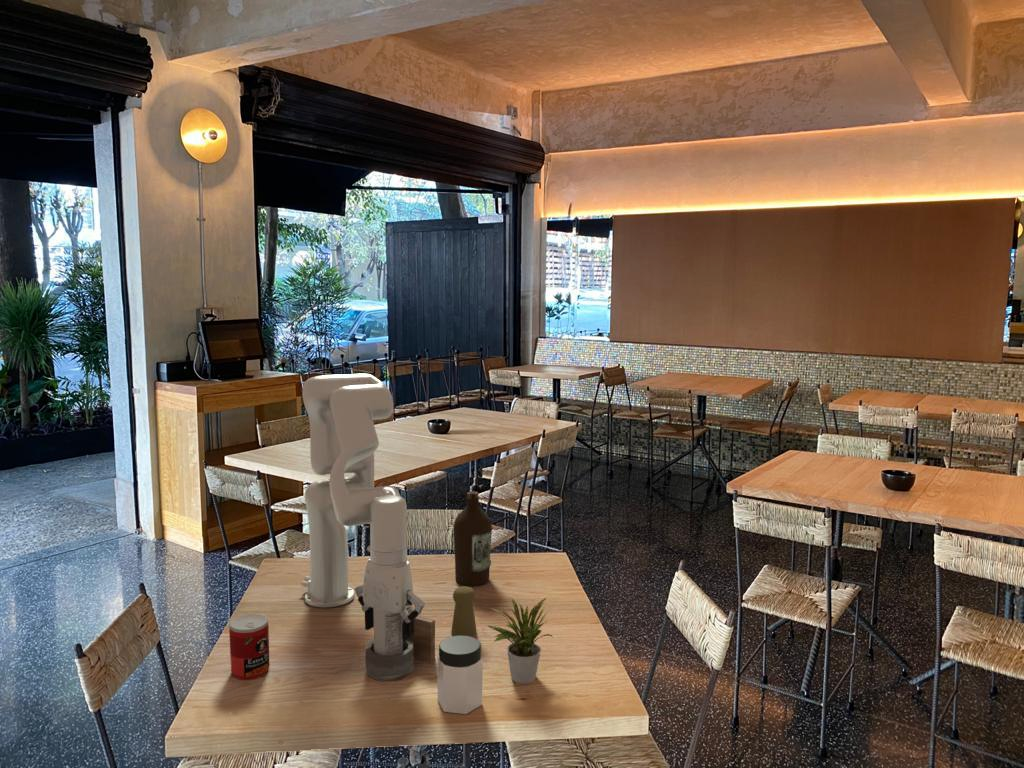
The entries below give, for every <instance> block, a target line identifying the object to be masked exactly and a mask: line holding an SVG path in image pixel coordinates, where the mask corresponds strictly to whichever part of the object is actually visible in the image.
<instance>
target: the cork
mask: <svg viewBox="0 0 1024 768" xmlns="http://www.w3.org/2000/svg"><path fill="white" fill-rule="evenodd" d="M452 598H453V602H454V603H455V604H454V609H453V617H452V625H451V630H450V635H451V637H452V636H470V637H473V638H475V636H476V635H477V625H476V618H475V609H474V601H475V598H476V592H475V590H474V589H473V587H471V586H465V585H462V586H458V587H457V588H455V589H454V591H453V594H452Z"/></svg>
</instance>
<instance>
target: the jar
mask: <svg viewBox="0 0 1024 768" xmlns="http://www.w3.org/2000/svg"><path fill="white" fill-rule="evenodd" d="M438 647H439V648H438V655H437V701H438V703H439V704H440V707H441V709H442V712H444V713H450V714H459V715H460V714H461V715H468V714H469V713H471V712H473V711H474V710H476V709H477V708H479V707H481V706H482V705H483V676H484V675H483V669H484V668H483V664H484V663H483V661H484V660H483V658H482V644H481V642H480V640H478V638H475V637H470V636H452V635H451V636H450V637H446V638H445V639H443V640H441V641H440V642H439V645H438Z"/></svg>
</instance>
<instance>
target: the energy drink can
mask: <svg viewBox="0 0 1024 768" xmlns="http://www.w3.org/2000/svg"><path fill="white" fill-rule="evenodd" d="M373 614H374V627H373V640H374V653H376V654H379V655H396V654H399V653H402V652H403V639H402V623H403V622H402V616H401V614H400V613H399V614H394V613H390V612H387V611H385V610H384V609H383V608H382V607H379V606H378V607H375V608H373Z"/></svg>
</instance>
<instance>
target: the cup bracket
mask: <svg viewBox="0 0 1024 768" xmlns="http://www.w3.org/2000/svg"><path fill="white" fill-rule="evenodd" d="M407 614H408V615H409V613H408V612H407ZM402 622H404V619H403V618H402ZM364 652H365V656H364V657H365V674H366V675H367V676H368V677H369V678H371V679H373V680H376V681H382V682H393V681H398V680H401V679H404V678H406V677H407V676H409V675H410V674H412V673H413V671H414V661H415V660H414V658H416V659H419V660H423V661H427V662H430V663H431V662H433V661H434V660H436V620H435V619H433V618H431V617H430V618H429V617H427V616H426V617H425V616H422V615H418V616H417V617H416V618H415V619H414V634H413V636H412V637H410V638H409V639H407V640H406V641H404V640H403V652H402V653H399V654H396V655H379V654H376V653H374V639H372V640H371V641H369V642H368V643H366V647H365V650H364Z"/></svg>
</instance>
